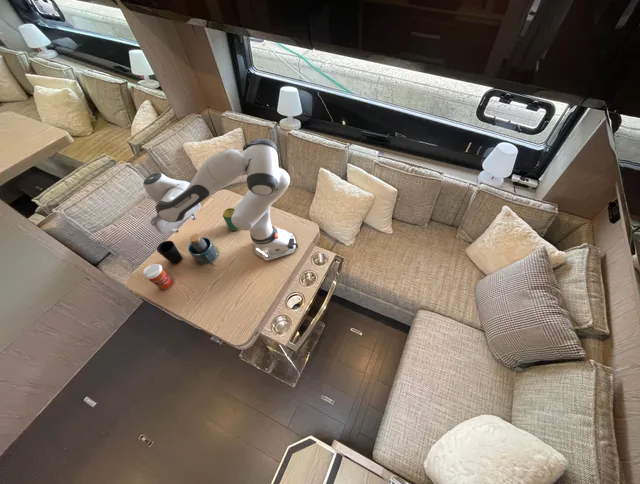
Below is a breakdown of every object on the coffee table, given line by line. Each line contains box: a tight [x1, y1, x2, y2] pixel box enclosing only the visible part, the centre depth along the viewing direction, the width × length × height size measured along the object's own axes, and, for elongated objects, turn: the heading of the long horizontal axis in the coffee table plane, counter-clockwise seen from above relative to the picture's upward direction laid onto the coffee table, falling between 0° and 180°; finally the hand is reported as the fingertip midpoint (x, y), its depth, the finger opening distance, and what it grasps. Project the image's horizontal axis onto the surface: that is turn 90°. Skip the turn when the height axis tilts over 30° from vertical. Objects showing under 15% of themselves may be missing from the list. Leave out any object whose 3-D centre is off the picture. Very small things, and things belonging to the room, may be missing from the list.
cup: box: [156, 240, 183, 265], centre depth 141 cm, size 8×8×12 cm
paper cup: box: [142, 263, 173, 290], centre depth 131 cm, size 8×8×14 cm
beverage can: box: [222, 207, 240, 232], centre depth 157 cm, size 8×8×12 cm
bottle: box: [189, 233, 209, 254], centre depth 142 cm, size 6×6×15 cm
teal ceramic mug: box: [187, 236, 219, 266], centre depth 144 cm, size 15×11×9 cm
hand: (185, 225), depth 129 cm, fingers open, 8 cm apart
